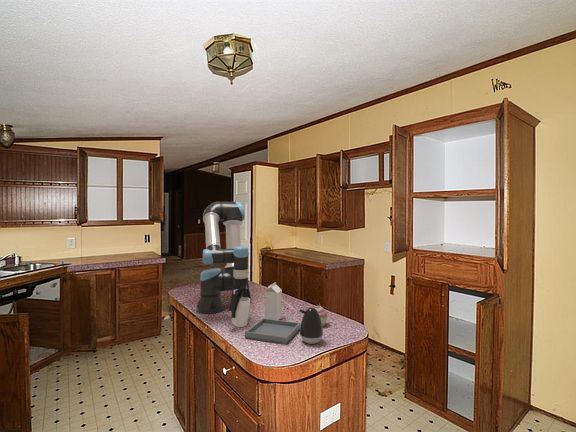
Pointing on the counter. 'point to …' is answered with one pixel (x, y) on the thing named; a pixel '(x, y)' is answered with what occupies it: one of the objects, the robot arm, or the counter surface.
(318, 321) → the pump dispenser
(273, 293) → the milk carton
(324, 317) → the cupcake
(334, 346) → the counter surface
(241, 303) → the foam cup
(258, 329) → the tray
